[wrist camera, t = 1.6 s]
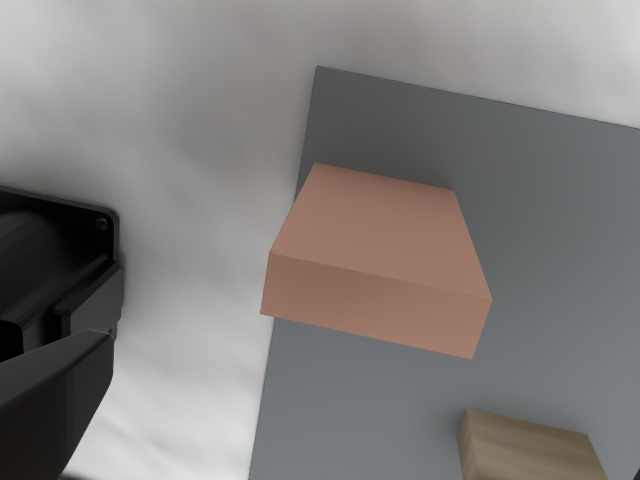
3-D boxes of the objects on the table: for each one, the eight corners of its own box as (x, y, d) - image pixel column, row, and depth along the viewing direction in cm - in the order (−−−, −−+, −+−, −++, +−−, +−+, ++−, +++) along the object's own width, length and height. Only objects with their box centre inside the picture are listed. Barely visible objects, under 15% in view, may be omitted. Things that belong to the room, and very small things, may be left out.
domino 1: (441, 231, 20) (471, 359, 13) (307, 203, 20) (260, 313, 13) (453, 190, 19) (492, 299, 12) (315, 162, 19) (269, 252, 12)
